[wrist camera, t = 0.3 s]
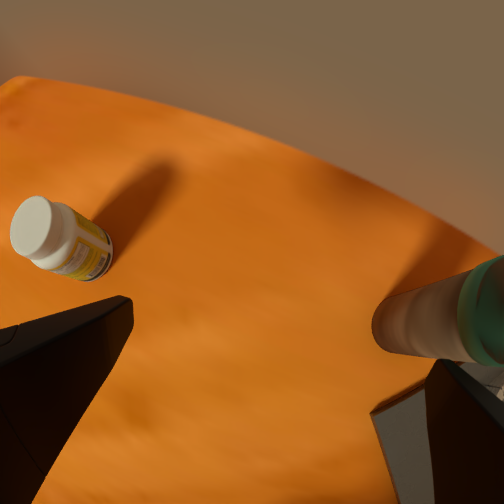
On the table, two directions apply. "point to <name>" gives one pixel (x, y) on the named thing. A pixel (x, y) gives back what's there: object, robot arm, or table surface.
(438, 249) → the table surface
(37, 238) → the supplement bottle
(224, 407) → the table surface
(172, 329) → the table surface
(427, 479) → the hub
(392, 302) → the travel tumbler
